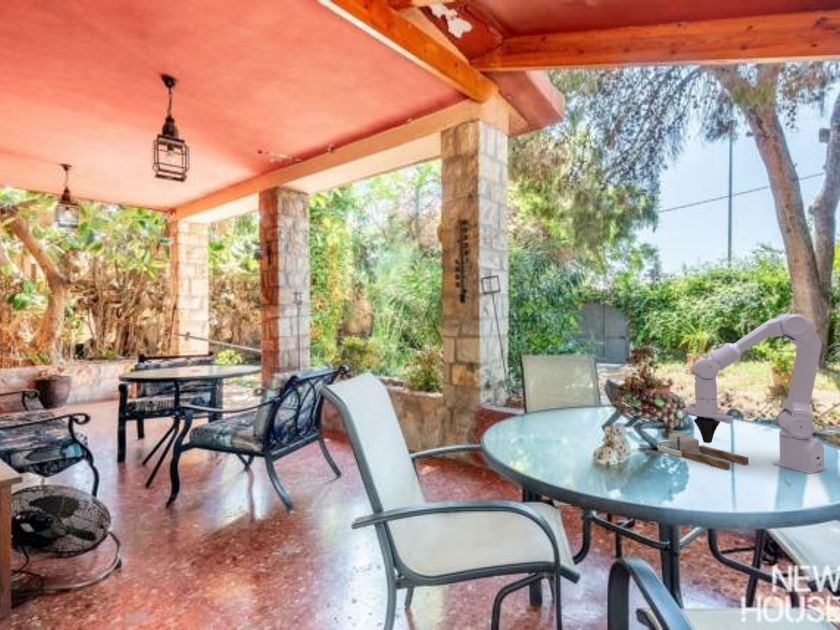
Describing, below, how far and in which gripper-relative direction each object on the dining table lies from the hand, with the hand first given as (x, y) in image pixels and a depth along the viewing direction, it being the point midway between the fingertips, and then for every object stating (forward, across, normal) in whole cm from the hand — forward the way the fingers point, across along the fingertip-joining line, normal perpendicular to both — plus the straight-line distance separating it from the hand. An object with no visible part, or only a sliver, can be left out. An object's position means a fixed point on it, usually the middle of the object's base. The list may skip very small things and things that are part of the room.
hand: (707, 442), depth 142 cm
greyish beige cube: (+5, -11, +2) cm, 12 cm away
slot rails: (+5, +2, 0) cm, 5 cm away
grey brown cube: (+5, -7, +1) cm, 8 cm away
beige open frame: (+5, -10, 0) cm, 11 cm away
